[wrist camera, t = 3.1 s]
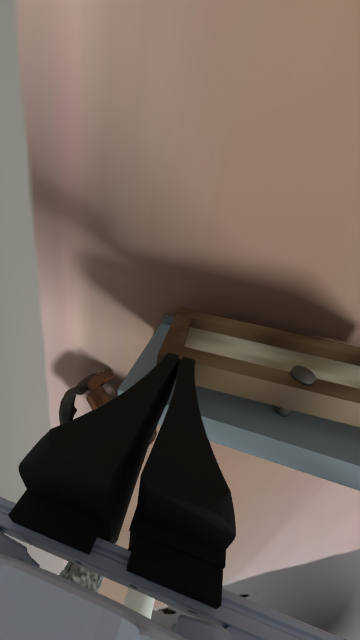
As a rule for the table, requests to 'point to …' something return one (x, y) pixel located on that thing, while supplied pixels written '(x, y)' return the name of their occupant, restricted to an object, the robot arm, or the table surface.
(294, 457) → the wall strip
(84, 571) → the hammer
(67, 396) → the pottery mug
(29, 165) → the table surface
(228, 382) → the brown rectangular panel
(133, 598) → the bottle
